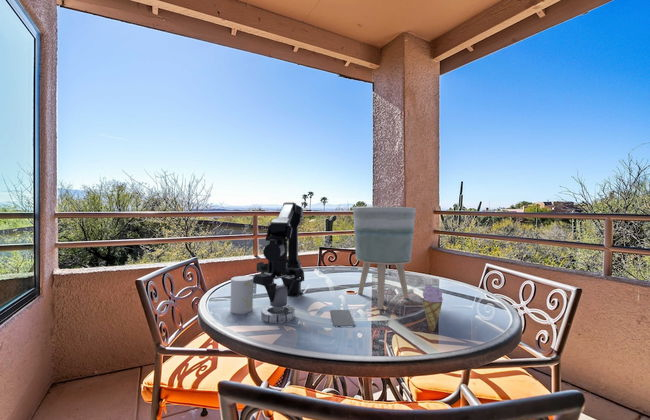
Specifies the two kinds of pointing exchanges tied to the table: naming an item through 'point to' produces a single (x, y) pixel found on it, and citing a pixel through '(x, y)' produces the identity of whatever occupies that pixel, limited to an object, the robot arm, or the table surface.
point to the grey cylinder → (241, 294)
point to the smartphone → (341, 318)
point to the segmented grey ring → (271, 317)
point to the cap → (280, 296)
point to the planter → (383, 242)
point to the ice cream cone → (432, 305)
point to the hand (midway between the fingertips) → (278, 299)
